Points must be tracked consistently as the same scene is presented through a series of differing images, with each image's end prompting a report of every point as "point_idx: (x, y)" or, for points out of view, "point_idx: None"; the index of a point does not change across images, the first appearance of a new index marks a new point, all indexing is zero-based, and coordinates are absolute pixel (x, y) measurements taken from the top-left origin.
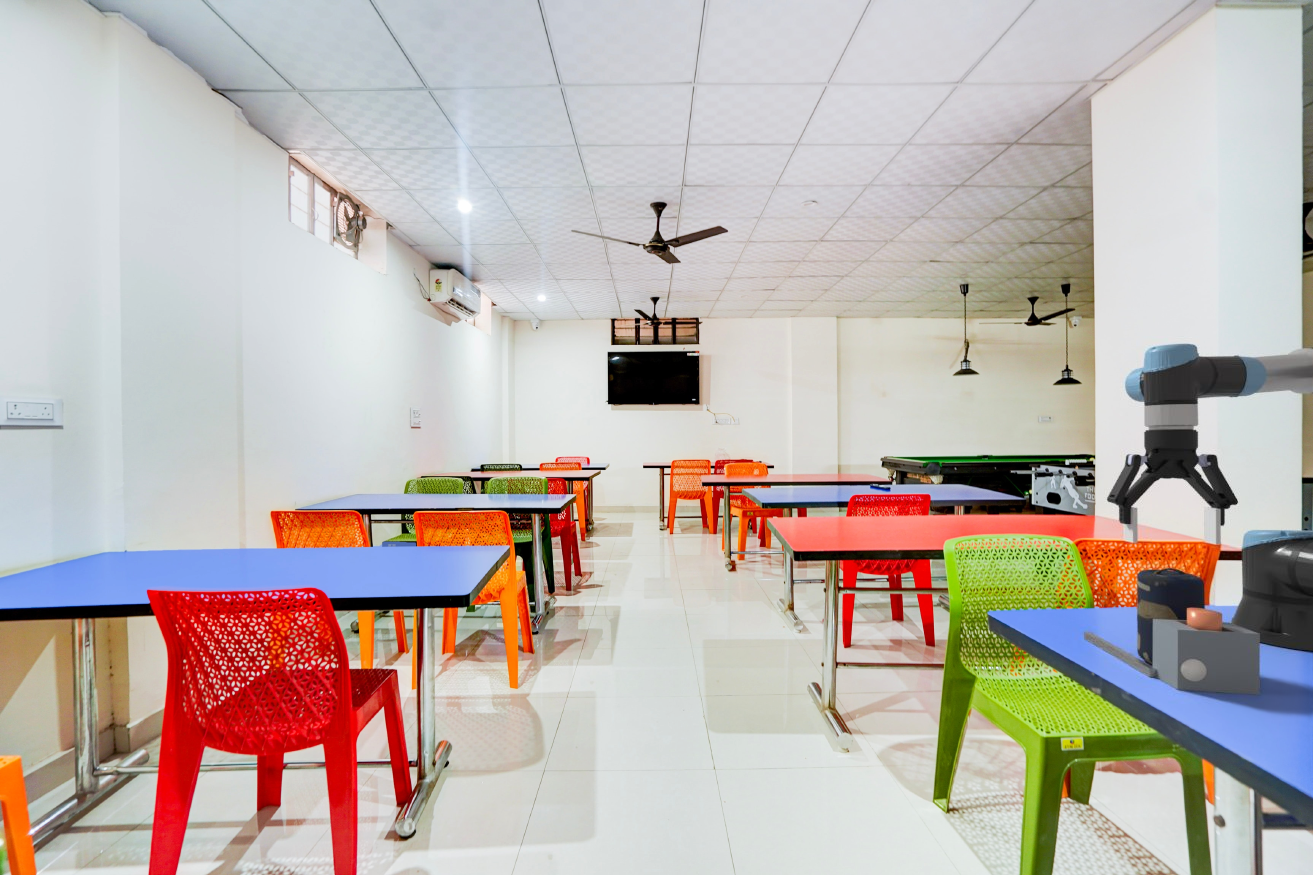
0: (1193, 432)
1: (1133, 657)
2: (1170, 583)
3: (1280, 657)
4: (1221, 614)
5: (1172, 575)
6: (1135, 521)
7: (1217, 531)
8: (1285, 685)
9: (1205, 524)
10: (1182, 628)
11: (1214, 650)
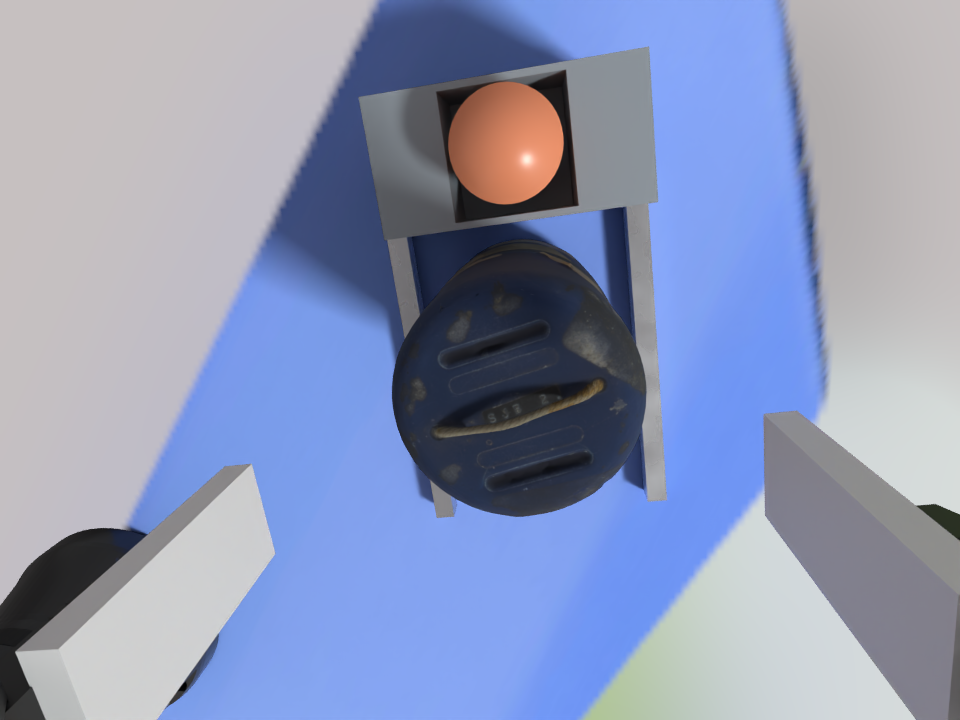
0: None
1: (640, 276)
2: (573, 284)
3: (202, 460)
4: (461, 107)
5: (523, 370)
6: (874, 496)
7: (191, 512)
8: (302, 229)
9: (209, 630)
10: (616, 77)
11: None
